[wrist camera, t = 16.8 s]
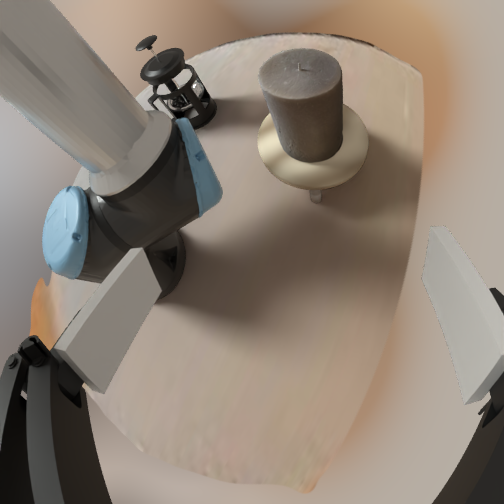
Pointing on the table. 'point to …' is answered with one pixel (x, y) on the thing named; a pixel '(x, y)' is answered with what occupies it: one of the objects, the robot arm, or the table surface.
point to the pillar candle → (305, 102)
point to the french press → (181, 97)
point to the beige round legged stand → (317, 172)
